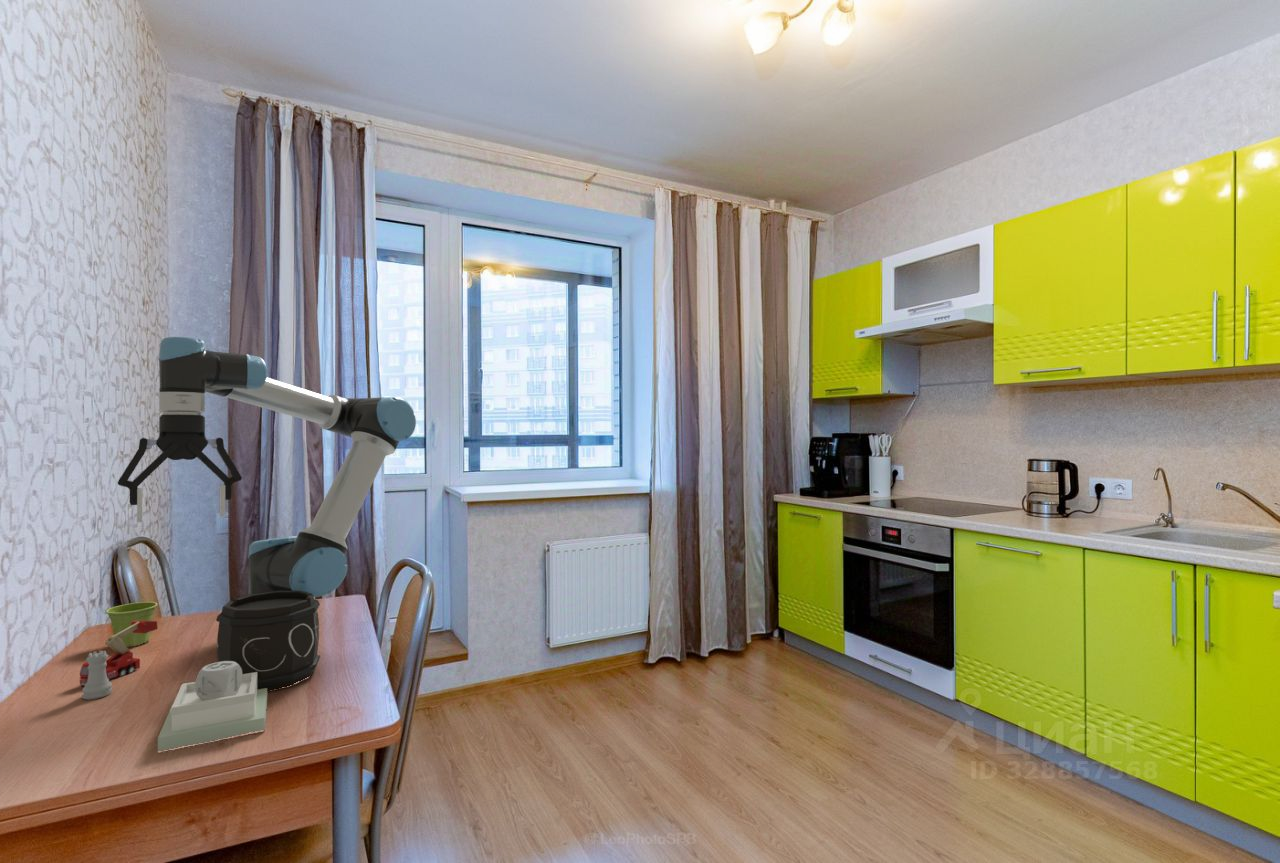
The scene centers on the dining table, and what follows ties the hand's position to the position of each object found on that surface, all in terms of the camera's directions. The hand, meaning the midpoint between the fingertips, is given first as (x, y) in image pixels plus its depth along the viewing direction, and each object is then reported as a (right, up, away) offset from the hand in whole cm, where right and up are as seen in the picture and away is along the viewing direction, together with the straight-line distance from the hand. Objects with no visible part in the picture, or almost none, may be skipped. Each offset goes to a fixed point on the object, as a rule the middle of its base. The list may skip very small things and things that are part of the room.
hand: (182, 518), depth 128 cm
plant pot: (-26, -32, +20) cm, 46 cm away
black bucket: (+19, -32, -2) cm, 37 cm away
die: (+22, -27, -22) cm, 41 cm away
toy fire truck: (-13, -32, +1) cm, 35 cm away
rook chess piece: (-9, -32, -10) cm, 35 cm away
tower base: (+22, -32, -22) cm, 45 cm away
